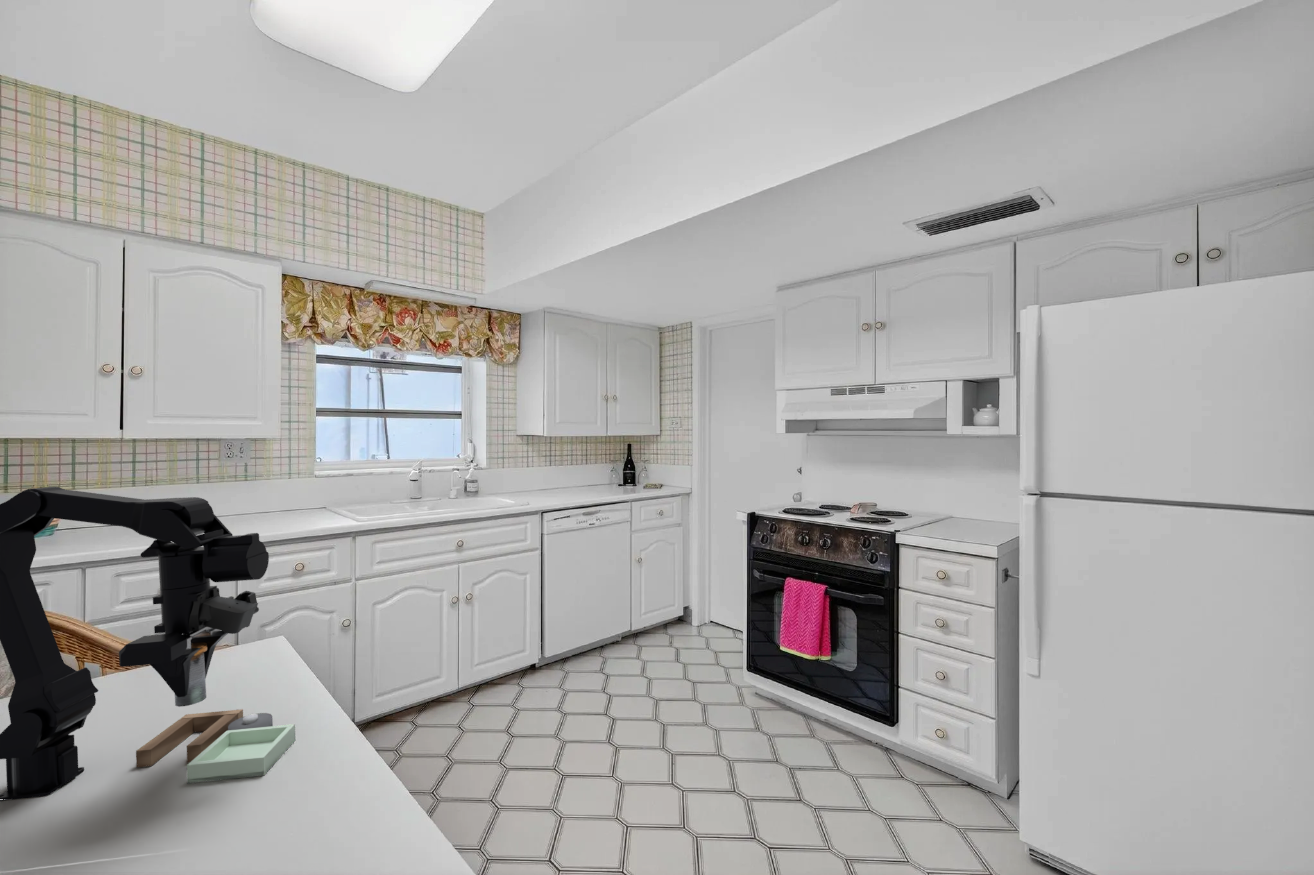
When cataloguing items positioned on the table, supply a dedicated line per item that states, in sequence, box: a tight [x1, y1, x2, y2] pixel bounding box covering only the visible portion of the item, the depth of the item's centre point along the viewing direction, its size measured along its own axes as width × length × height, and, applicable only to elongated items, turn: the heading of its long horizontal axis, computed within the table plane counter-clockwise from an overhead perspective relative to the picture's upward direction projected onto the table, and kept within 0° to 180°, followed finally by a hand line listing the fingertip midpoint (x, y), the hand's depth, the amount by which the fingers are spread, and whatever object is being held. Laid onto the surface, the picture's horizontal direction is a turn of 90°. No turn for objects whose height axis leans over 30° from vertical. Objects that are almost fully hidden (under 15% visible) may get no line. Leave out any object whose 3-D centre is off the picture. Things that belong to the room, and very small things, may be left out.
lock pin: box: [174, 643, 207, 708], centre depth 87 cm, size 4×4×8 cm
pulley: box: [228, 712, 274, 730], centre depth 97 cm, size 6×6×3 cm
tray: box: [186, 723, 297, 784], centre depth 89 cm, size 10×10×3 cm
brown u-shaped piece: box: [135, 708, 244, 768], centre depth 95 cm, size 9×12×2 cm
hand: (191, 690), depth 87 cm, fingers closed on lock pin, 4 cm apart
